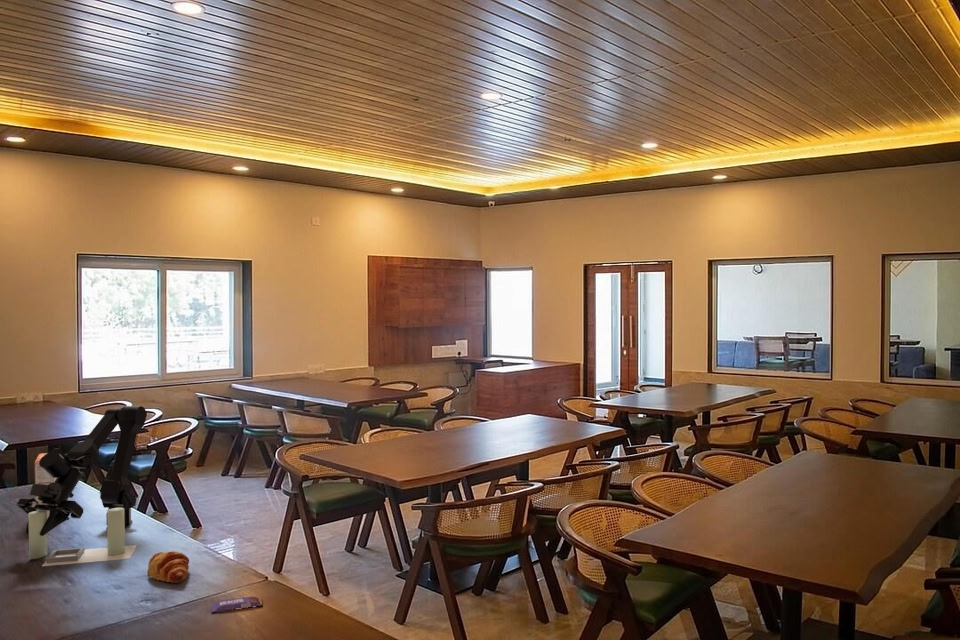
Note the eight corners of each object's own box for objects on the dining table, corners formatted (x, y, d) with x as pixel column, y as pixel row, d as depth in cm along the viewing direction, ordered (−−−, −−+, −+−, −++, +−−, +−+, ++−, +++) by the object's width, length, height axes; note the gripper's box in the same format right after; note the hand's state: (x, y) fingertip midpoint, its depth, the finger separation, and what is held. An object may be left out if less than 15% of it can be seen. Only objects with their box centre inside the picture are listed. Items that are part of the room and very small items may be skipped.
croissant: (146, 579, 203) (131, 556, 201) (178, 555, 209) (164, 533, 206) (171, 601, 187) (155, 576, 185) (206, 574, 193) (191, 550, 190)
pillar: (49, 553, 212) (48, 509, 212) (44, 558, 208) (43, 514, 208) (32, 554, 211) (31, 511, 211) (27, 559, 207) (26, 515, 206)
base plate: (137, 548, 218) (137, 541, 218) (129, 561, 207) (129, 554, 207) (54, 555, 212) (53, 547, 212) (41, 569, 201) (41, 561, 201)
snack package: (211, 607, 172) (211, 600, 176) (211, 616, 172) (211, 608, 176) (262, 601, 175) (262, 593, 180) (262, 609, 175) (262, 601, 180)
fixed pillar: (126, 549, 214) (125, 507, 214) (123, 554, 210) (122, 511, 210) (109, 551, 213) (108, 508, 213) (106, 556, 209) (105, 512, 208)
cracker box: (39, 513, 256) (38, 453, 256) (59, 510, 259) (58, 451, 259) (34, 523, 244) (33, 460, 243) (55, 521, 246) (54, 459, 246)
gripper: (21, 470, 215) (-12, 518, 204) (75, 473, 211) (44, 522, 200) (43, 490, 223) (13, 537, 212) (96, 493, 218) (67, 542, 208)
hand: (33, 534), depth 208 cm, fingers closed on pillar, 4 cm apart
